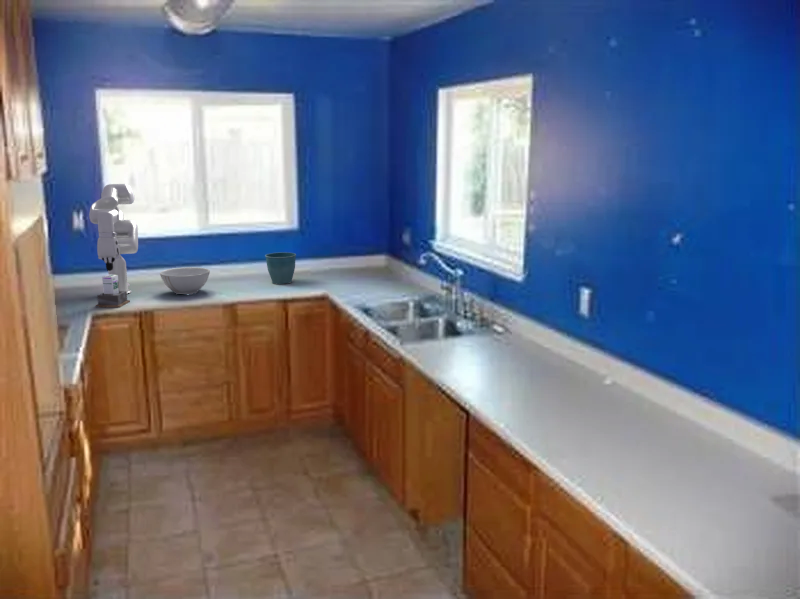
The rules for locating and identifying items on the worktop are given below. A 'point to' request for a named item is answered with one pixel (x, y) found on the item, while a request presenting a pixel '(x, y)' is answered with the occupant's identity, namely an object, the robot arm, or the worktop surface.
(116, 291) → the syrup box
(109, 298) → the dark grey open box
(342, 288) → the worktop surface
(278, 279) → the flower pot
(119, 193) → the robot arm
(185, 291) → the decorative bowl
